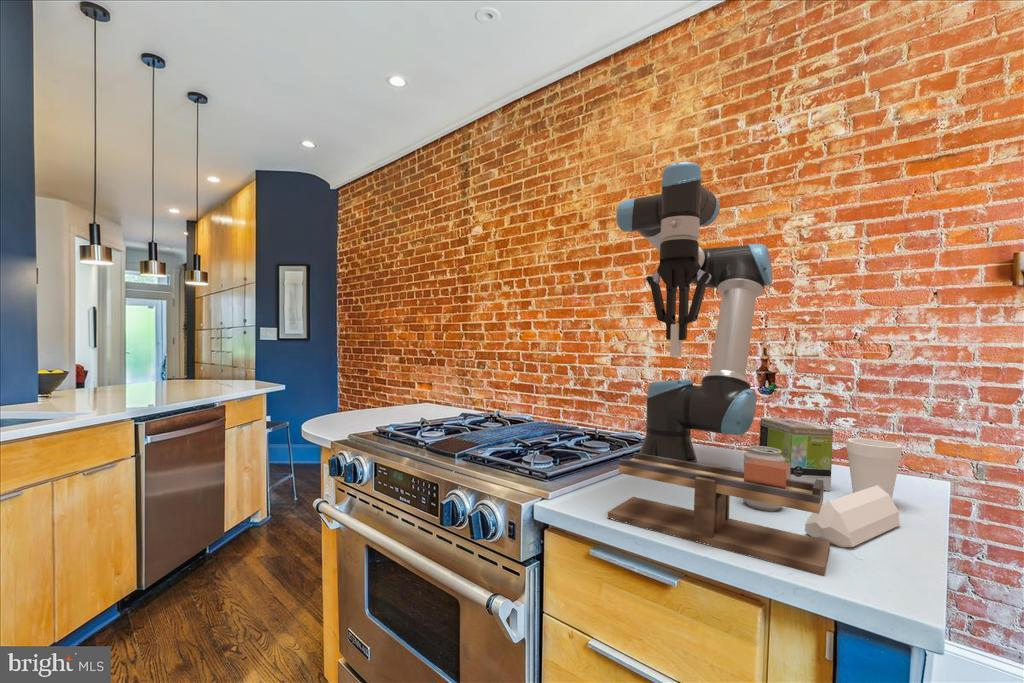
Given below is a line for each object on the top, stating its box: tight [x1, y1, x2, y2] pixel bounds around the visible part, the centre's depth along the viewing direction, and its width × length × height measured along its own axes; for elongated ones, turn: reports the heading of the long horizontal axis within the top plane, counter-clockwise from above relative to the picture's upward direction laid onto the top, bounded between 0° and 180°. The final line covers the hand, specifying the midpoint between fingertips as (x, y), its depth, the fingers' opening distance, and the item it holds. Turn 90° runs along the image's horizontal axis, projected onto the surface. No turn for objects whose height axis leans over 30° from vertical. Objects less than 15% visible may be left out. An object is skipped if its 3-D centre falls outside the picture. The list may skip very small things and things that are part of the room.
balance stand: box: [607, 464, 831, 577], centre depth 85 cm, size 34×12×10 cm, turn 53°
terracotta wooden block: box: [743, 457, 791, 490], centre depth 80 cm, size 6×5×4 cm
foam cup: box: [846, 437, 903, 500], centre depth 104 cm, size 10×9×13 cm
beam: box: [617, 452, 824, 514], centre depth 85 cm, size 32×8×4 cm, turn 53°
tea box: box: [759, 417, 834, 492], centre depth 119 cm, size 15×10×15 cm
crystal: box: [804, 485, 901, 548], centre depth 87 cm, size 7×7×24 cm
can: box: [742, 445, 785, 512], centre depth 100 cm, size 8×8×12 cm
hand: (675, 356), depth 99 cm, fingers closed
